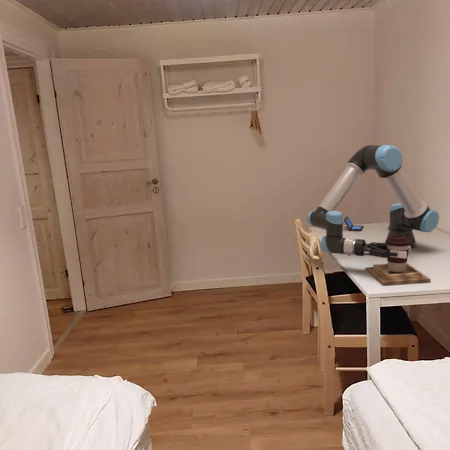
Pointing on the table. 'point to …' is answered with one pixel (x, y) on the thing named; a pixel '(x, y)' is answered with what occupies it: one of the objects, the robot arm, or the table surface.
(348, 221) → the handheld game console
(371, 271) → the cup rack
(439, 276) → the table surface
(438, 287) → the table surface
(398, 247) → the coffee cup
